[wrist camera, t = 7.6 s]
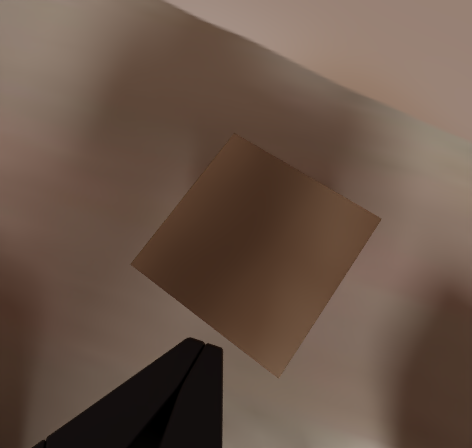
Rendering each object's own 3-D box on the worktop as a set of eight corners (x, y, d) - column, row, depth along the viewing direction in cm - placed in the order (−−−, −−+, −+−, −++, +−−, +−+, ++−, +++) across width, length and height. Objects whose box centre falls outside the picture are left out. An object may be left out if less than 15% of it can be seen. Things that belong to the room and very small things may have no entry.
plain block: (337, 270, 20) (381, 218, 12) (277, 361, 19) (278, 378, 11) (250, 213, 22) (234, 132, 13) (189, 295, 21) (130, 264, 12)
